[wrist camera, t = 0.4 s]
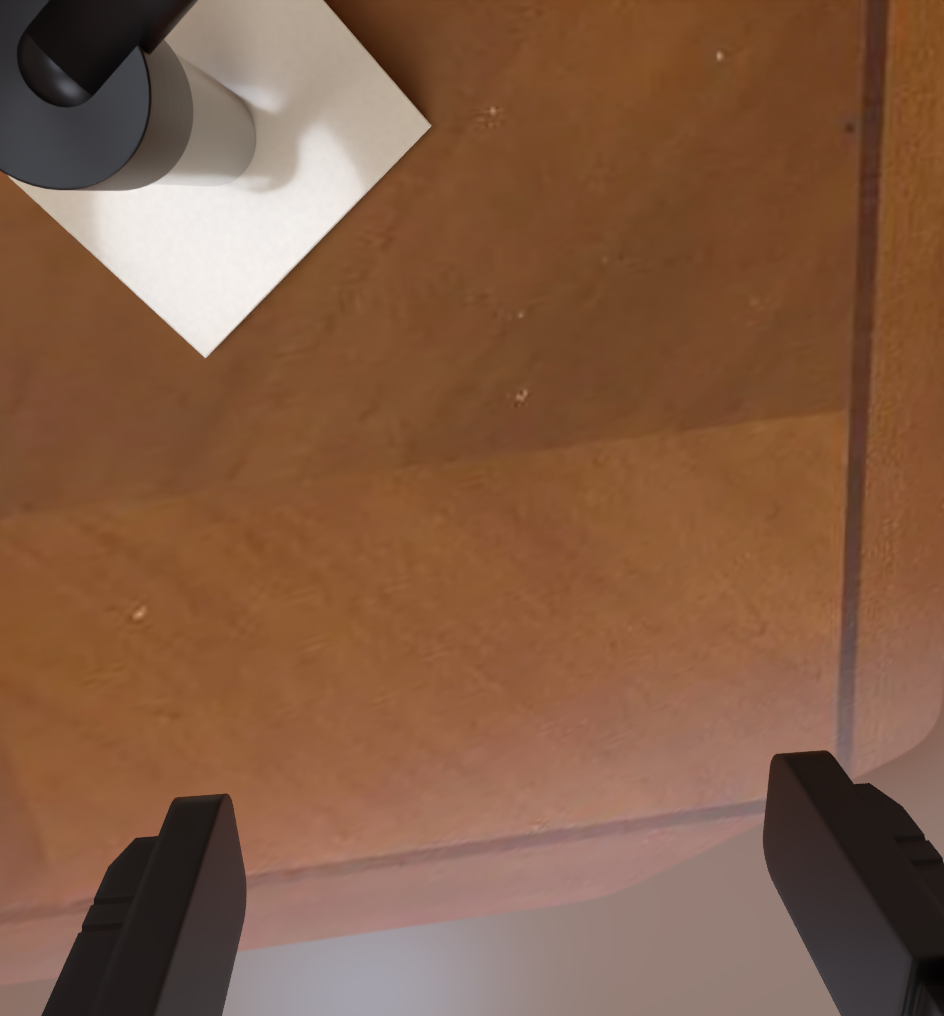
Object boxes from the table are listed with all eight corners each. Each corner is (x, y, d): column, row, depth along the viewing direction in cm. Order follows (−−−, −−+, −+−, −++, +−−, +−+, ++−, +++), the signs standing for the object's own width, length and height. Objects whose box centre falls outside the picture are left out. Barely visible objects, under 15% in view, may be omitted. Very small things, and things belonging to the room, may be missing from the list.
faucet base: (213, 351, 39) (119, 437, 25) (-7, 145, 36) (-261, 114, 22) (429, 129, 37) (456, 89, 23) (217, -117, 33) (95, -344, 19)
